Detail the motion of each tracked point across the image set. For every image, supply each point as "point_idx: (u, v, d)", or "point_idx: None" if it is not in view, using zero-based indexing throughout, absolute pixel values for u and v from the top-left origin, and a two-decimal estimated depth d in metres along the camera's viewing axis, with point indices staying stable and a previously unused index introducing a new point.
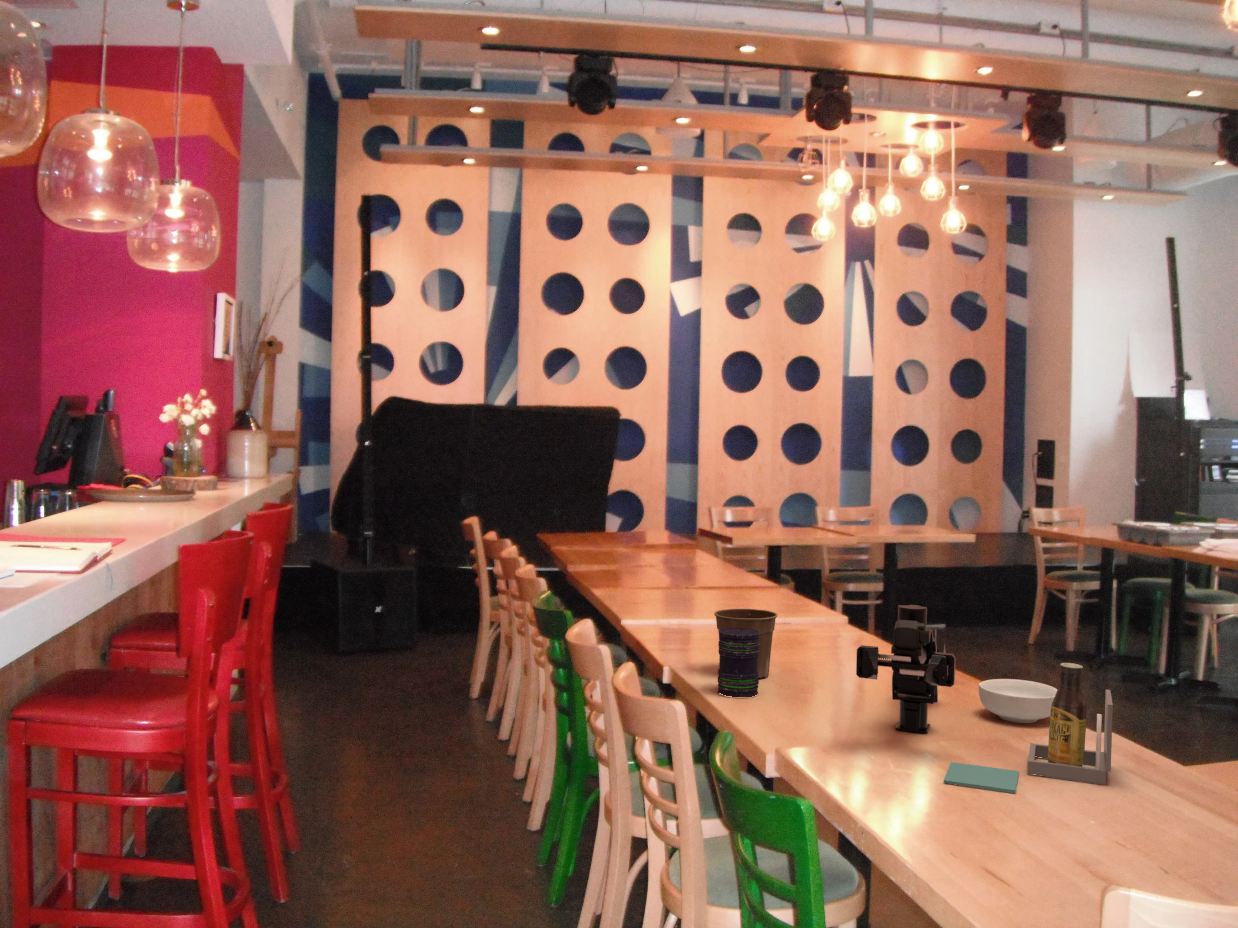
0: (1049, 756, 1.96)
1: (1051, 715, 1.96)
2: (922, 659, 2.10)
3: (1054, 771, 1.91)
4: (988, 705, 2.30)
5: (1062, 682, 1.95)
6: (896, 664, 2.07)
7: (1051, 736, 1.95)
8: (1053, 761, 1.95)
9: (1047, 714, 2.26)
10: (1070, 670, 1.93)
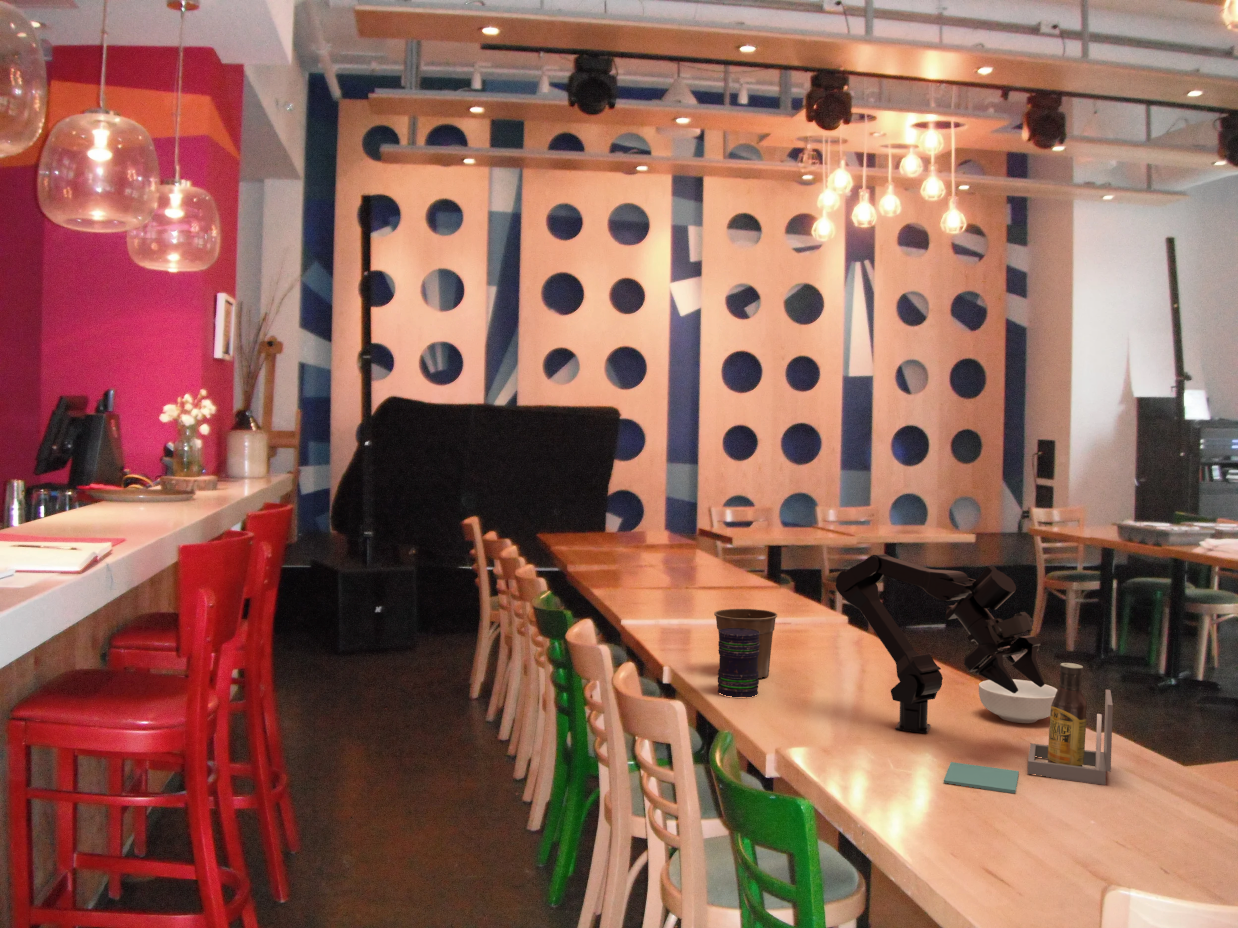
0: (1049, 756, 1.96)
1: (1051, 715, 1.96)
2: None
3: (1054, 771, 1.91)
4: (988, 705, 2.30)
5: (1062, 682, 1.95)
6: None
7: (1051, 736, 1.95)
8: (1053, 761, 1.95)
9: (1047, 714, 2.26)
10: (1070, 670, 1.93)
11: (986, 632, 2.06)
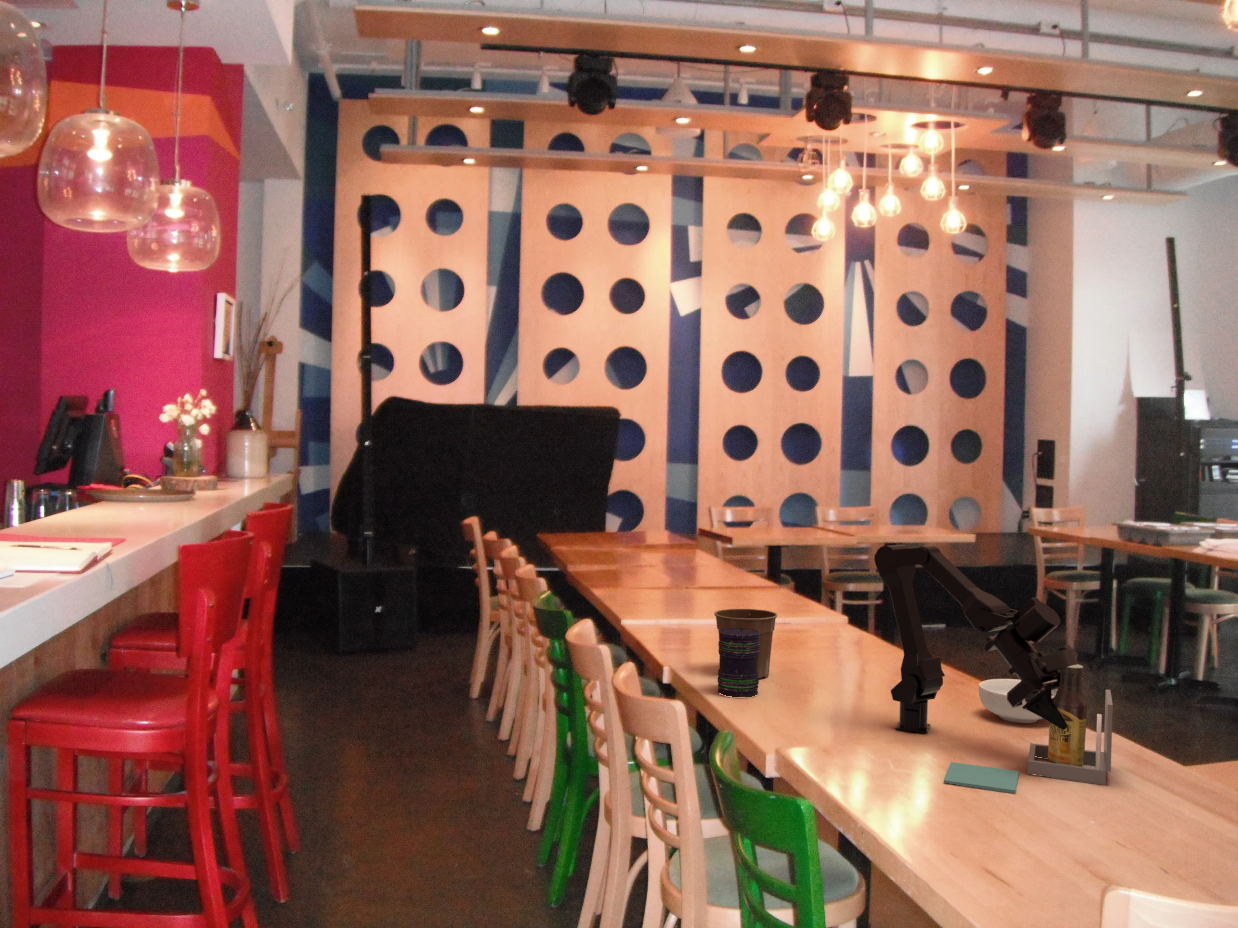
0: (1049, 756, 1.96)
1: None
2: None
3: (1054, 771, 1.91)
4: (988, 705, 2.30)
5: (1063, 682, 1.95)
6: None
7: (1051, 736, 1.95)
8: (1053, 761, 1.95)
9: None
10: (1070, 670, 1.93)
11: (1028, 666, 1.99)
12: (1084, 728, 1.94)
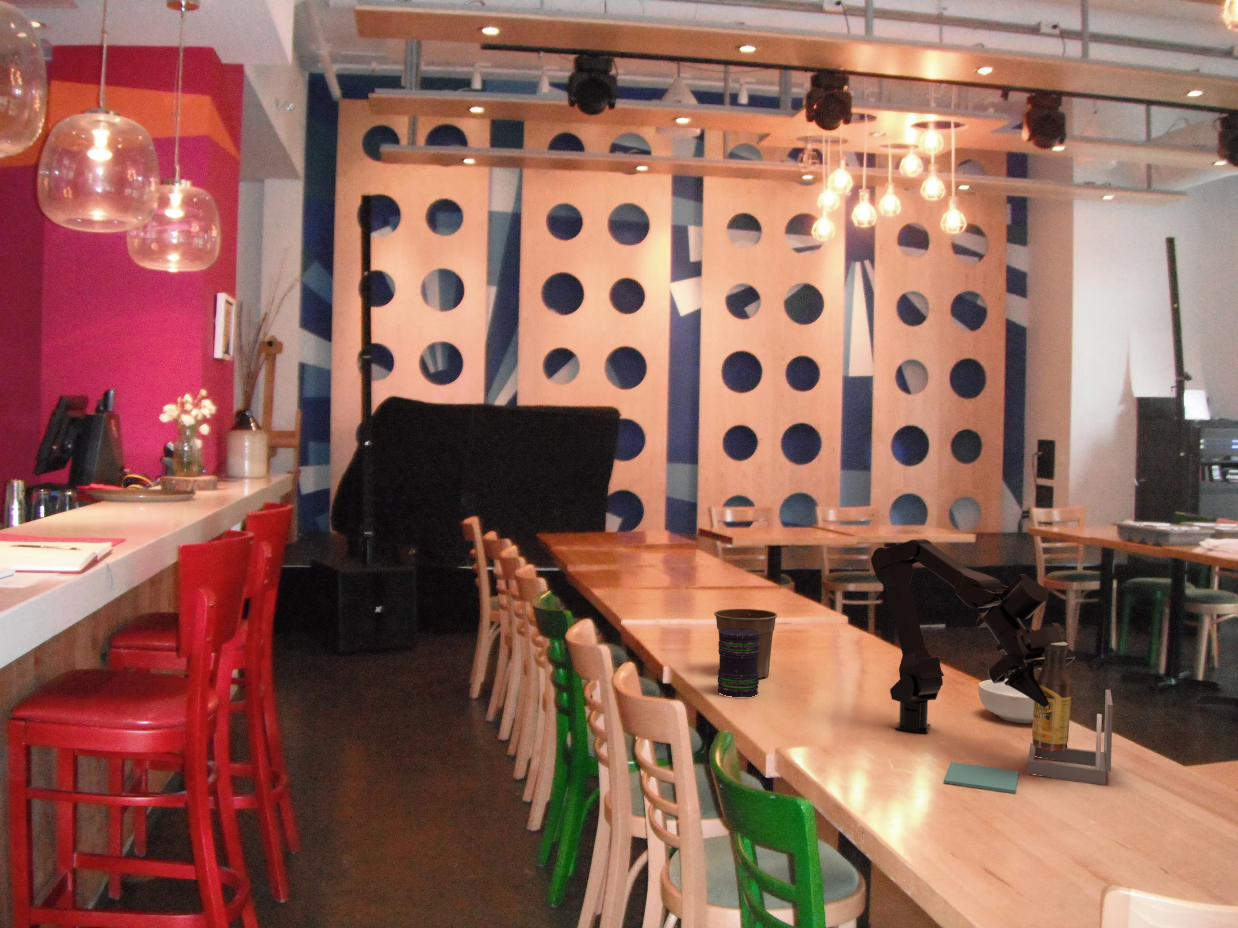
0: (1032, 734, 1.94)
1: None
2: None
3: (1054, 771, 1.91)
4: (988, 705, 2.31)
5: (1046, 659, 1.92)
6: None
7: (1034, 714, 1.93)
8: (1036, 739, 1.93)
9: None
10: (1053, 647, 1.91)
11: (1014, 642, 1.97)
12: (1067, 706, 1.91)
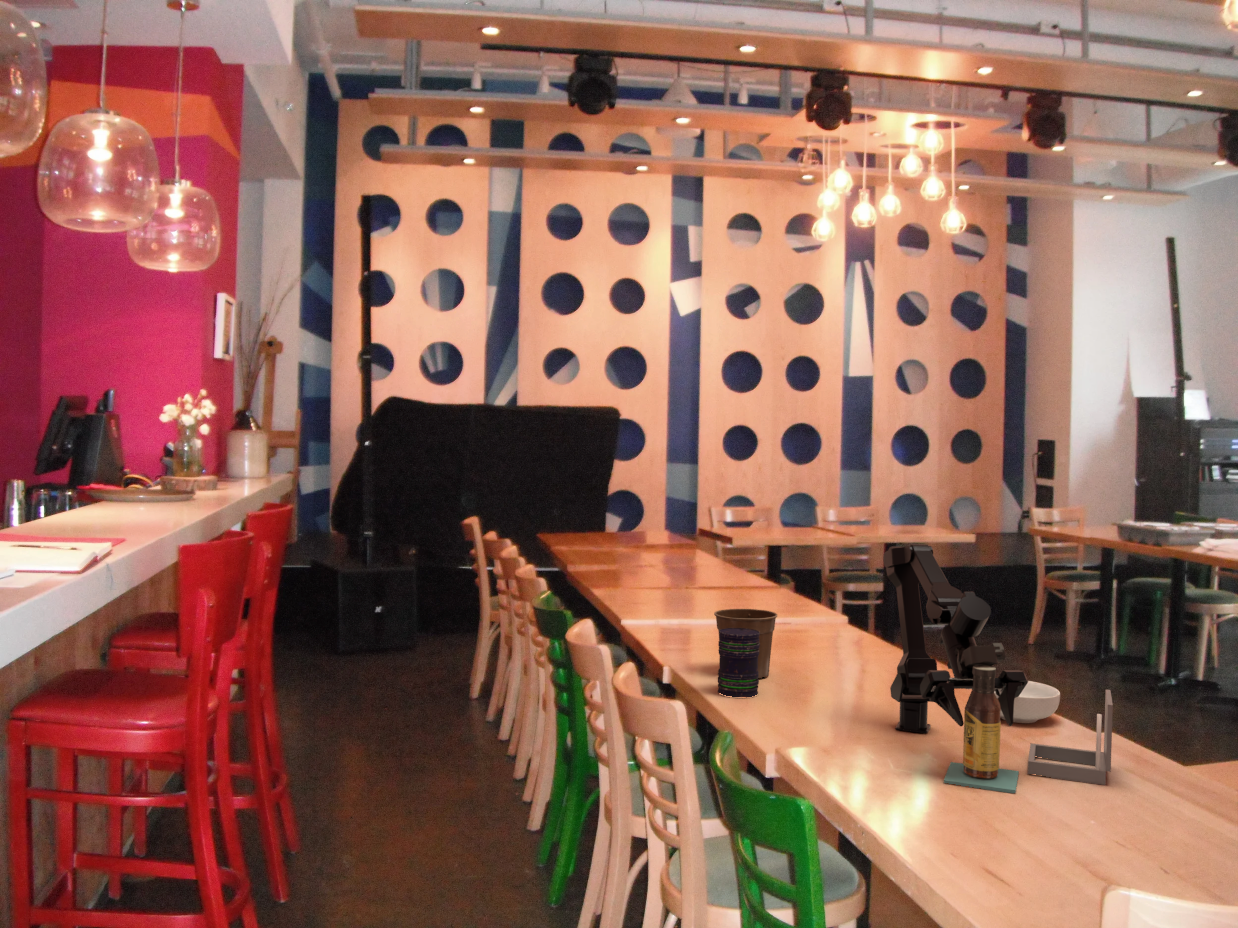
0: None
1: None
2: None
3: (1054, 771, 1.91)
4: None
5: (973, 683, 1.89)
6: (966, 686, 1.93)
7: None
8: (963, 763, 1.90)
9: (1047, 714, 2.26)
10: (976, 671, 1.88)
11: (956, 660, 1.96)
12: (991, 733, 1.86)
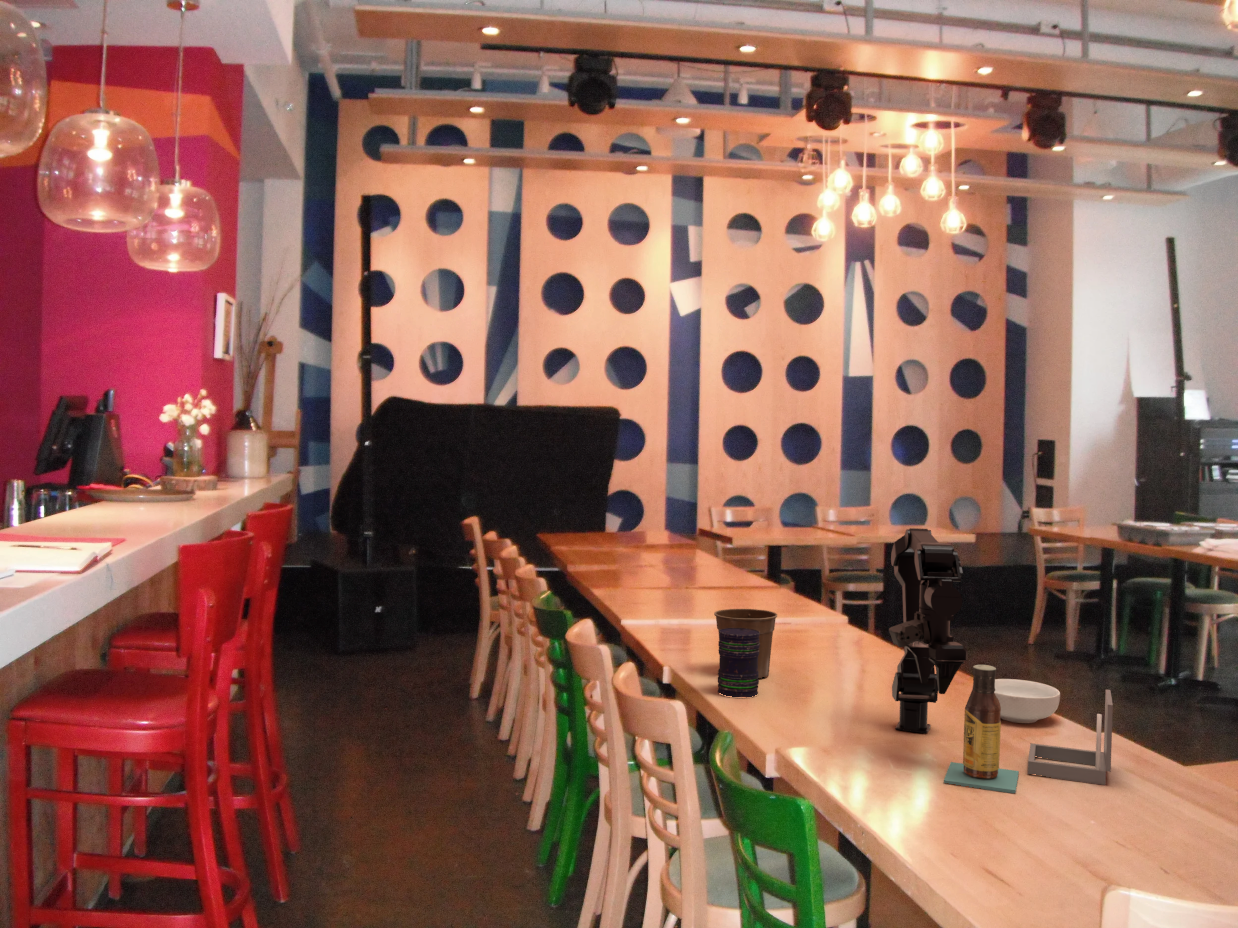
0: None
1: None
2: (937, 623, 2.01)
3: (1054, 771, 1.91)
4: None
5: (973, 683, 1.89)
6: None
7: None
8: (963, 763, 1.90)
9: (1047, 714, 2.26)
10: (976, 671, 1.88)
11: None
12: (991, 733, 1.86)
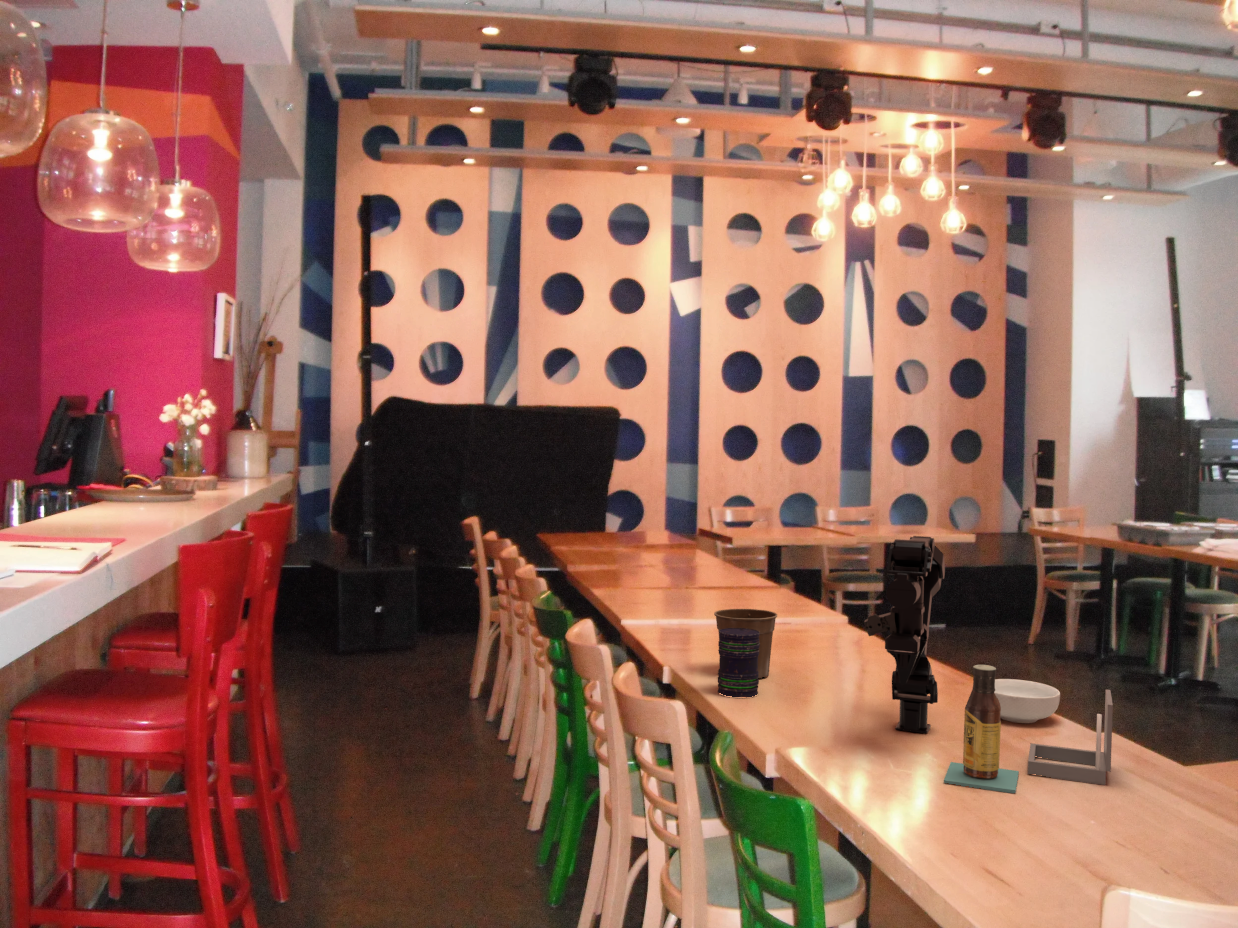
0: None
1: None
2: (903, 616, 2.09)
3: (1054, 771, 1.91)
4: None
5: (973, 683, 1.89)
6: None
7: None
8: (963, 763, 1.90)
9: (1047, 714, 2.26)
10: (976, 671, 1.88)
11: None
12: (991, 733, 1.86)
